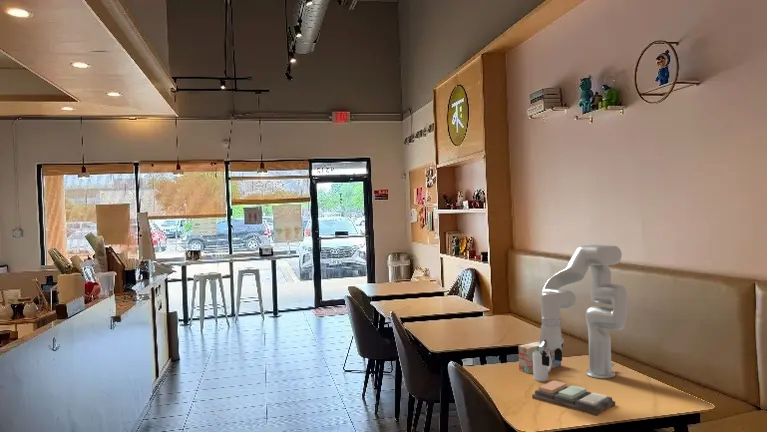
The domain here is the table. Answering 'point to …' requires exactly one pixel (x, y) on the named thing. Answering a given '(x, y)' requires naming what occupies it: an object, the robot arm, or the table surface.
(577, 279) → the robot arm
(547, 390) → the terracotta tile
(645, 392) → the table surface
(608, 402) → the dark grey tile board
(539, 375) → the mug
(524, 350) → the stack of blocks
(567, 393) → the sage tile
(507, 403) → the table surface
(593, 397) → the cream tile
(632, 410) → the table surface
